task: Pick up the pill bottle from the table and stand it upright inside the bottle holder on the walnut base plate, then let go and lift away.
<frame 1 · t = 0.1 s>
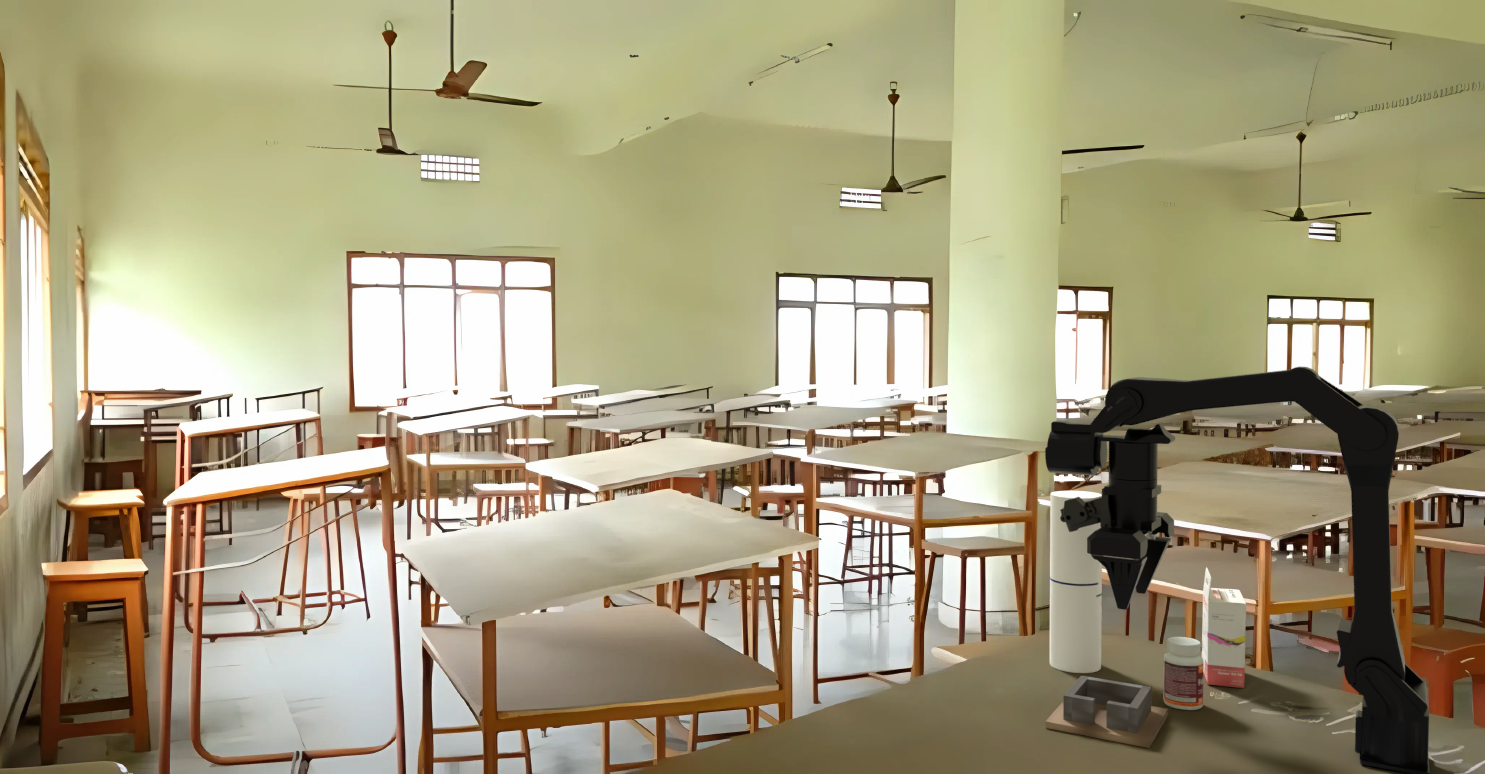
hand: (1132, 600, 128), 14 cm above the table, fingers open, 9 cm apart
cylindrical container: (1075, 666, 148), on the table
bottle holder: (1107, 721, 127), on the table
pill bottle: (1183, 705, 132), on the table
white cardboard box: (1222, 678, 142), on the table
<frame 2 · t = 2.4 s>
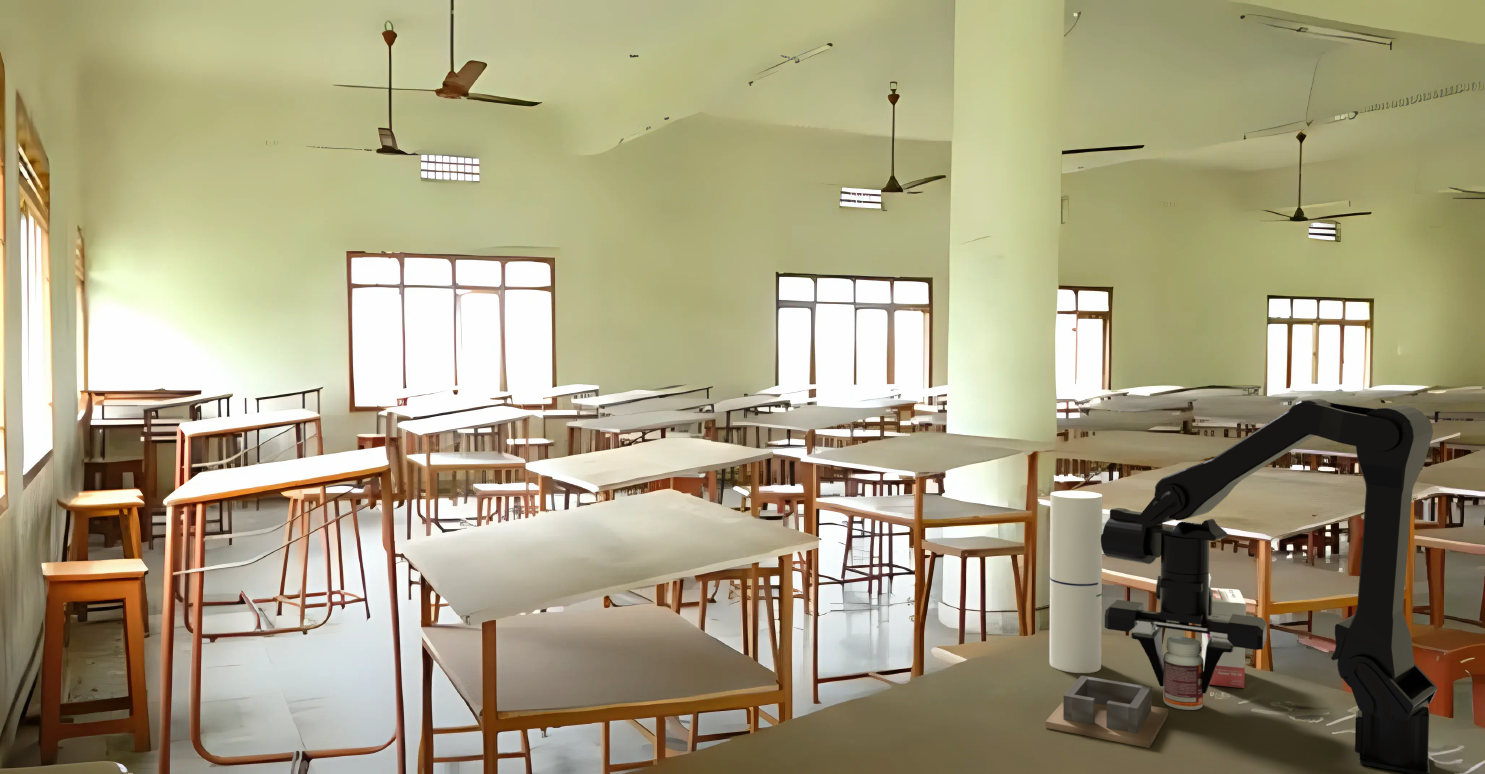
hand: (1183, 688, 132), 2 cm above the table, fingers closed on pill bottle, 5 cm apart
pill bottle: (1183, 705, 132), on the table, touching gripper
everything else where it was.
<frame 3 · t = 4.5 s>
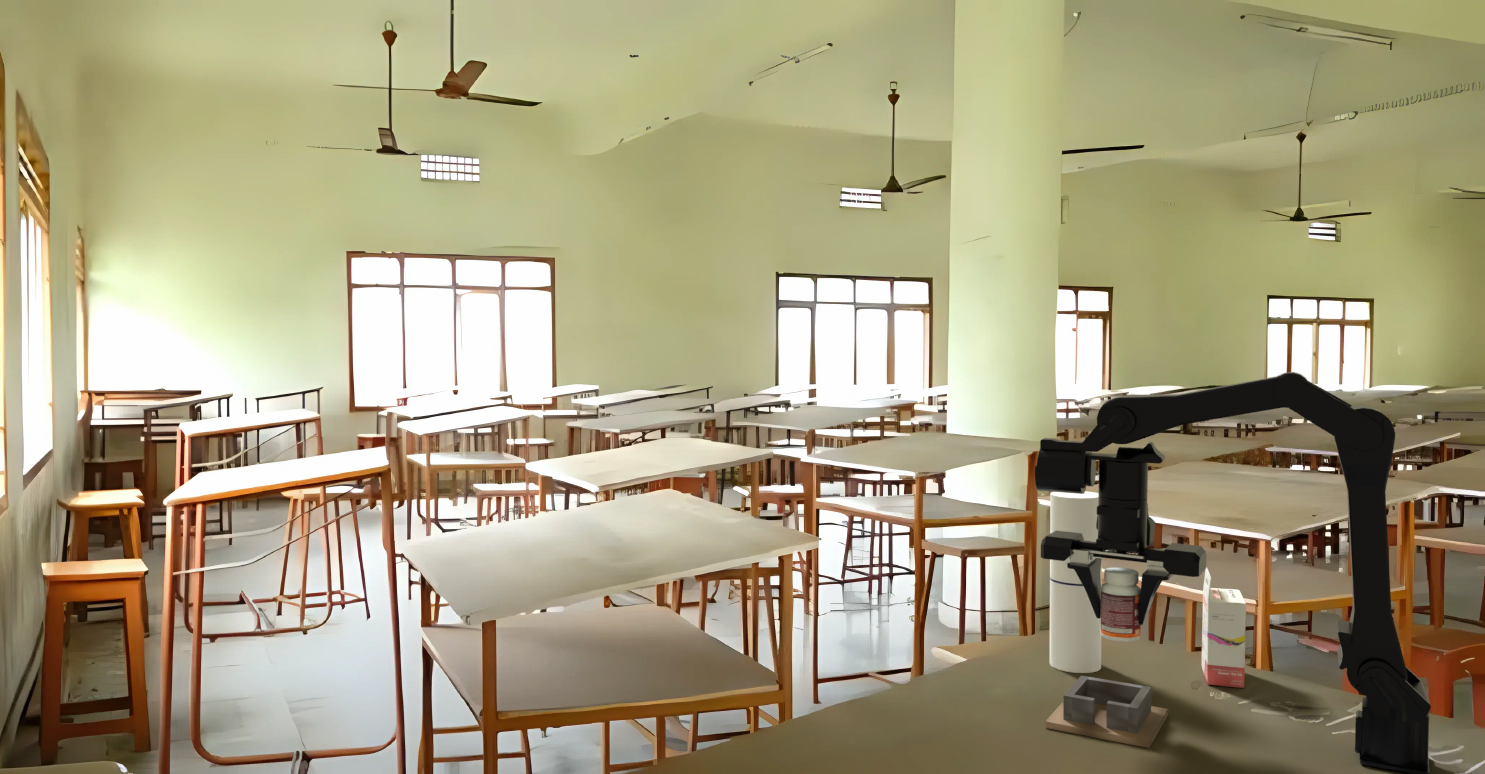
hand: (1120, 620, 127), 12 cm above the table, fingers closed on pill bottle, 5 cm apart
pill bottle: (1120, 638, 127), point 10 cm above the table, touching gripper
everything else where it was.
when the fingers open (5 cm above the table, at t = 6.7 s): pill bottle drops 2 cm, resting on bottle holder.
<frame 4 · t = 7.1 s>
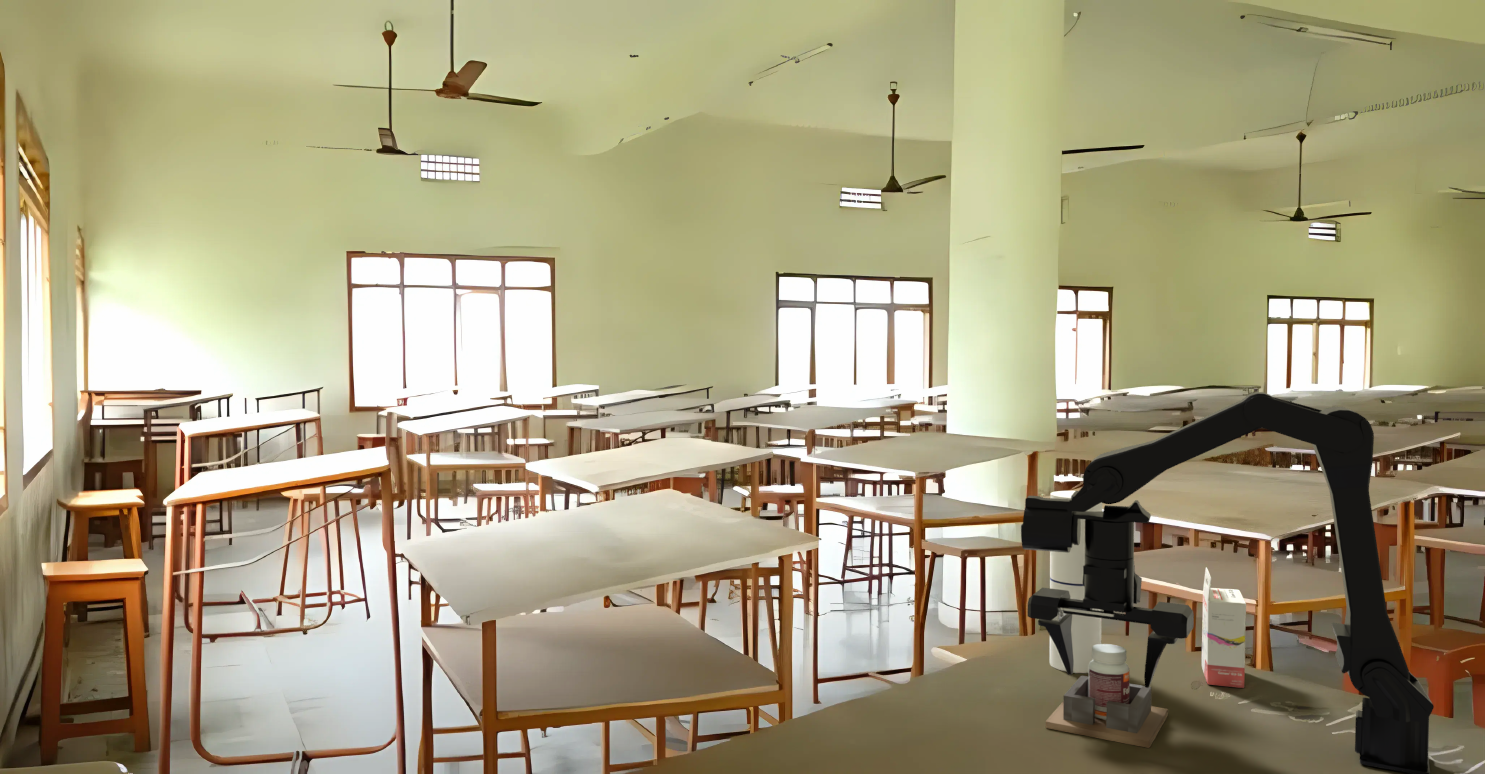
hand: (1108, 680, 126), 5 cm above the table, fingers open, 9 cm apart
pill bottle: (1108, 716, 127), point 1 cm above the table, touching bottle holder
everything else where it was.
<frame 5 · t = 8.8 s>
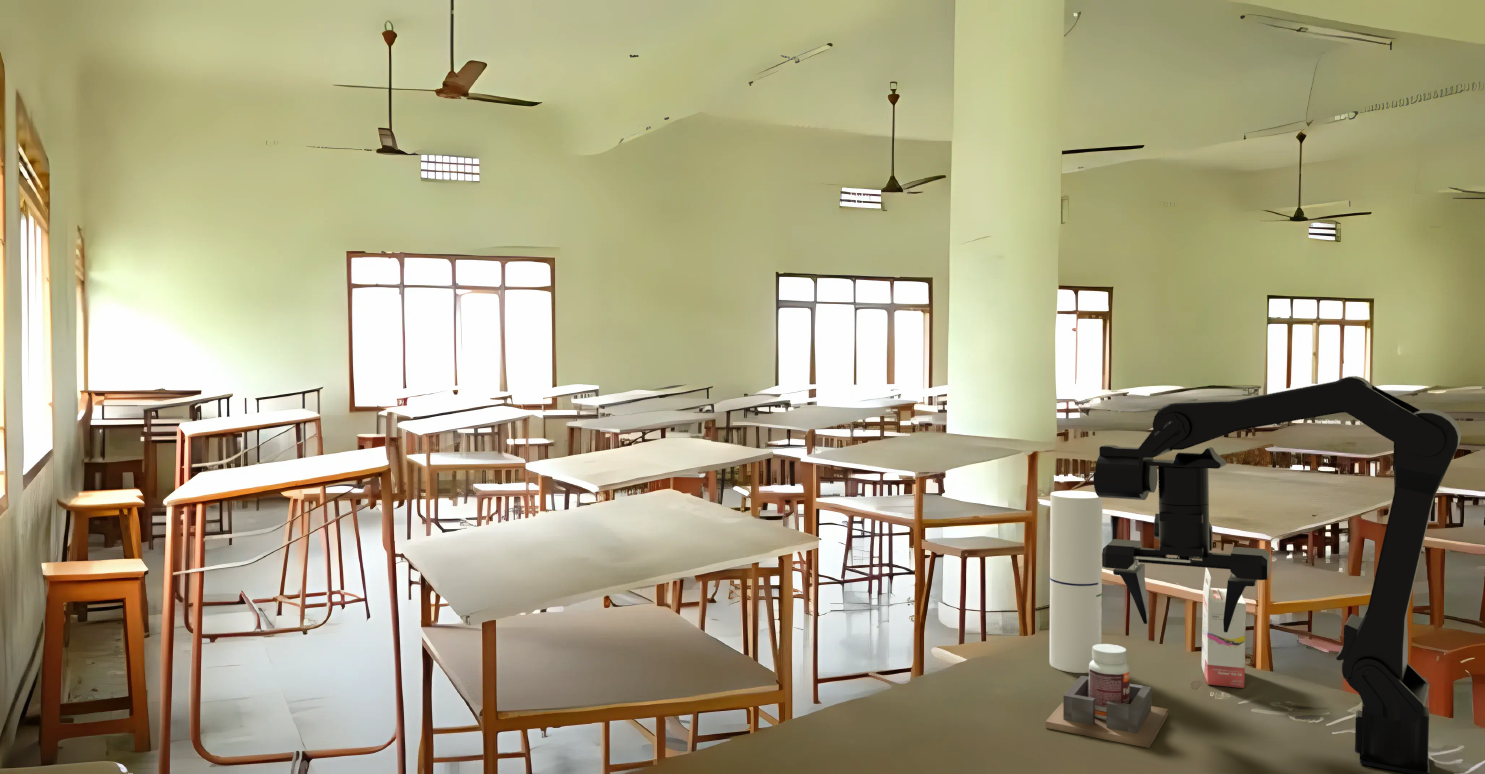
hand: (1185, 627, 127), 12 cm above the table, fingers open, 9 cm apart
nothing on the table moved.
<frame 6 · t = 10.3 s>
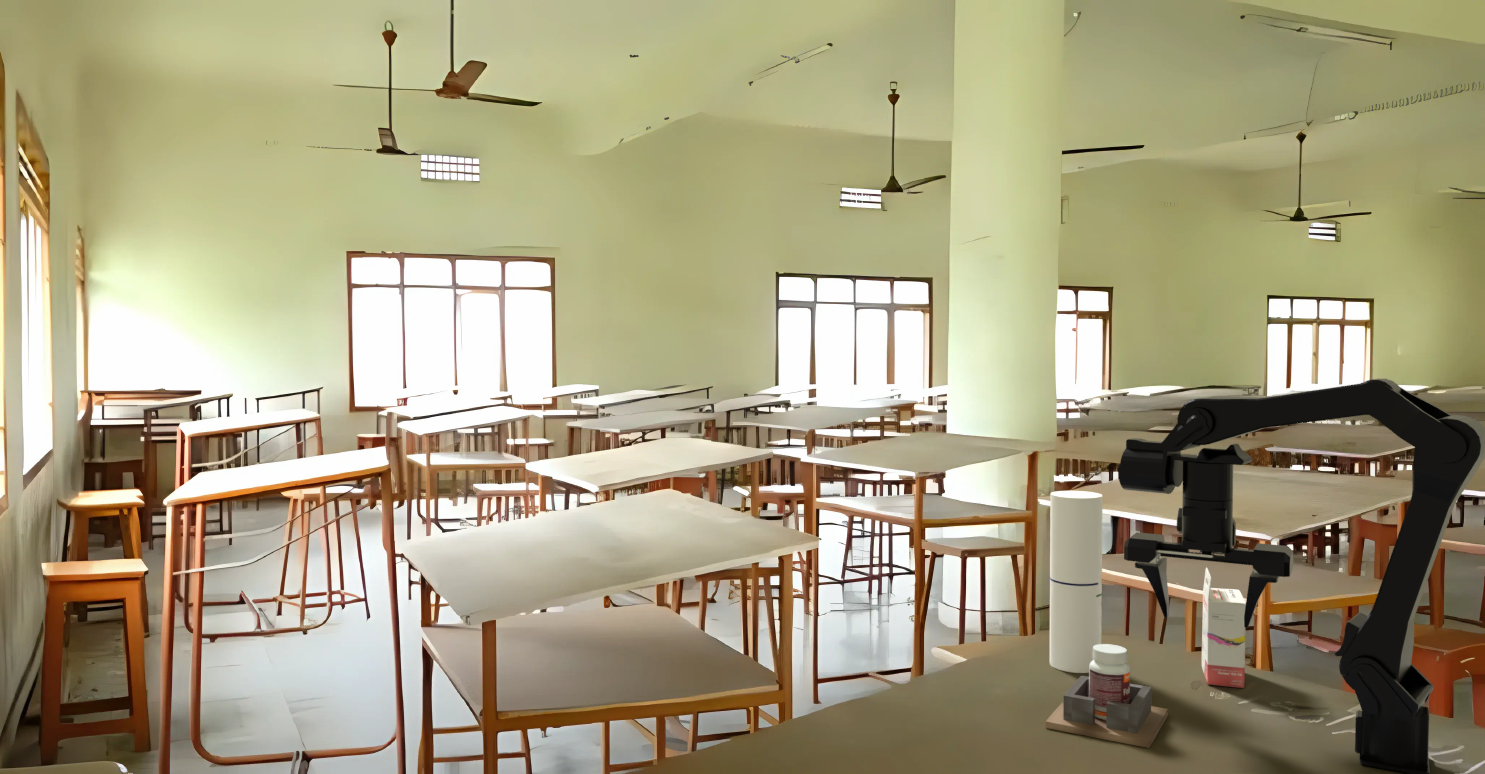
hand: (1205, 621, 127), 12 cm above the table, fingers open, 9 cm apart
nothing on the table moved.
at the end: pill bottle 0.1 cm off-centre on the bottle holder, point 0.6 cm above the bottle holder's base; pill bottle tilted 0°; the gripper is holding nothing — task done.
